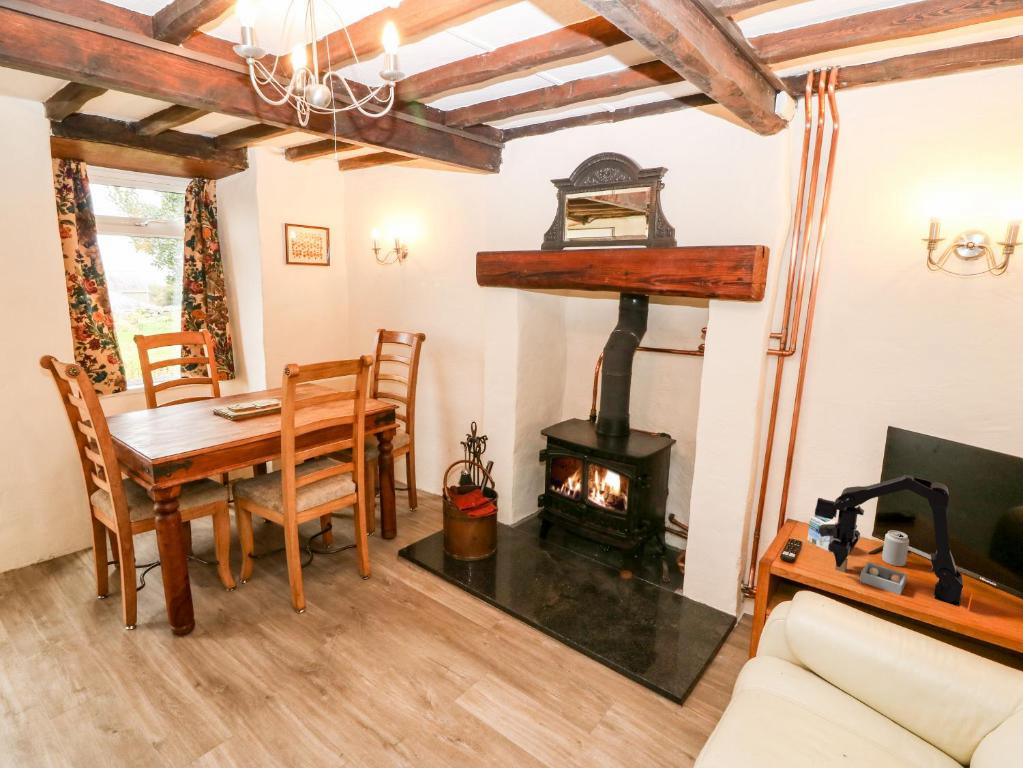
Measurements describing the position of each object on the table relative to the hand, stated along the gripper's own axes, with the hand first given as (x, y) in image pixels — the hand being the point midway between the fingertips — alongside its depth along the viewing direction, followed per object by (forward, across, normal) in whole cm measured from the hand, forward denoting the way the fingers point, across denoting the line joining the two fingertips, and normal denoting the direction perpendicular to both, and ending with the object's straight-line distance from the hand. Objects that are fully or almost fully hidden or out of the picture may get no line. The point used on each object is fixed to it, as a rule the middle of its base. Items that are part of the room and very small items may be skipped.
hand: (841, 561), depth 202 cm
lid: (+4, 0, 0) cm, 4 cm away
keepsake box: (+4, 0, +13) cm, 13 cm away
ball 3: (+3, -3, +16) cm, 17 cm away
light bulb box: (+4, -17, -10) cm, 20 cm away
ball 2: (+3, -3, +13) cm, 14 cm away
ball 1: (+3, -3, +10) cm, 11 cm away
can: (+4, -20, +13) cm, 24 cm away
